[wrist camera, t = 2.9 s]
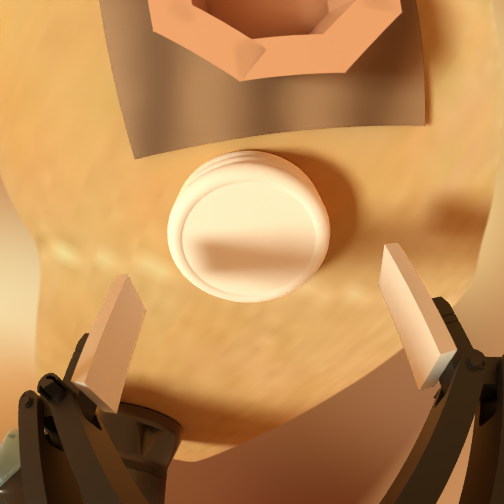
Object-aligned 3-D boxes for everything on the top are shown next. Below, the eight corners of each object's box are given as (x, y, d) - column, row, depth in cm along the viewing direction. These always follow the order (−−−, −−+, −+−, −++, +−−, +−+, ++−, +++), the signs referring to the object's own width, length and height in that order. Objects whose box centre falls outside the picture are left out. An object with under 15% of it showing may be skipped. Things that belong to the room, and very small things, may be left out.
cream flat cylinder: (161, 250, 22) (150, 280, 19) (204, 124, 17) (195, 138, 14) (281, 288, 25) (285, 320, 22) (346, 185, 19) (363, 208, 16)
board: (140, 153, 18) (134, 159, 17) (101, -56, 8) (93, -60, 7) (415, 121, 16) (424, 125, 15) (383, -85, 7) (390, -91, 6)
